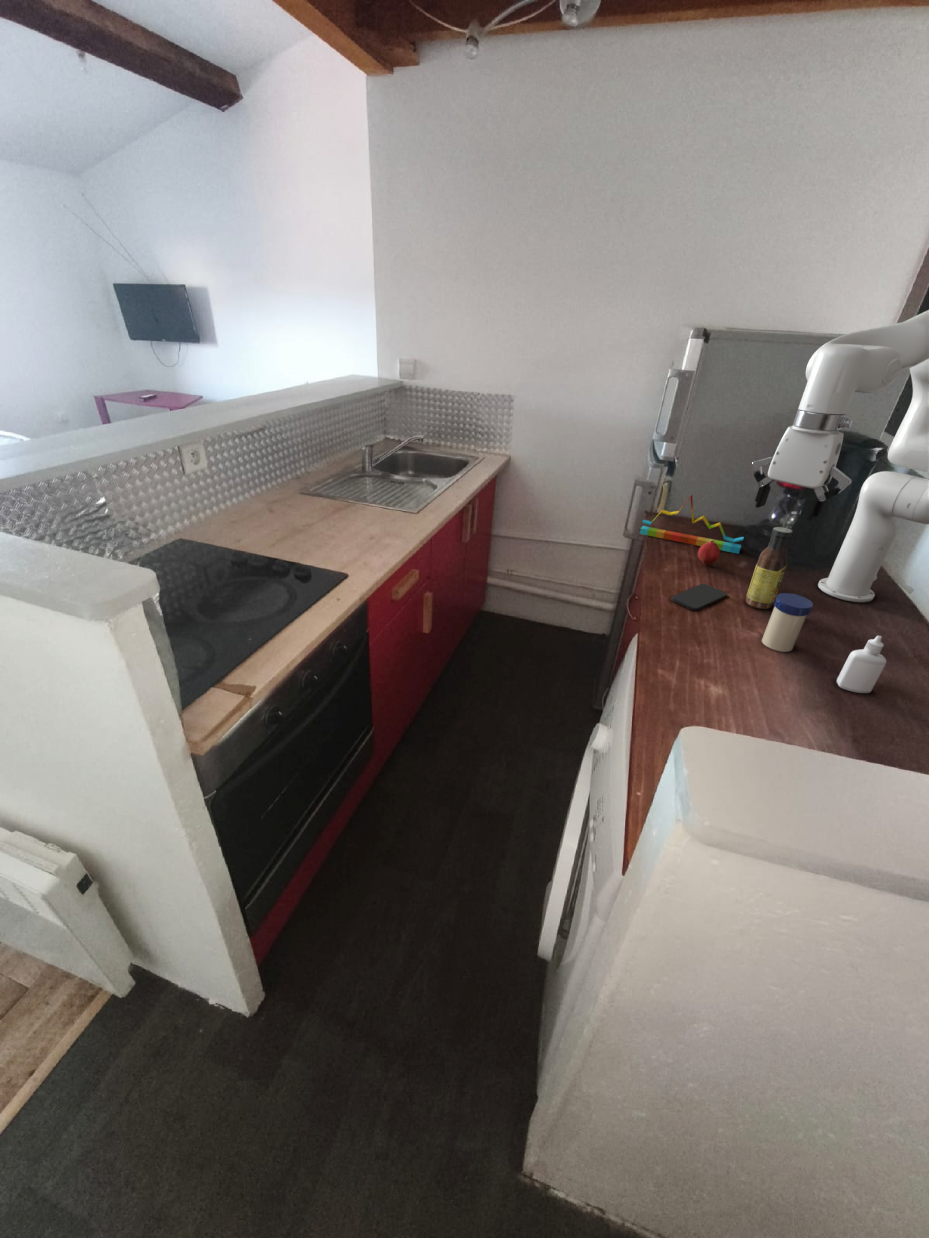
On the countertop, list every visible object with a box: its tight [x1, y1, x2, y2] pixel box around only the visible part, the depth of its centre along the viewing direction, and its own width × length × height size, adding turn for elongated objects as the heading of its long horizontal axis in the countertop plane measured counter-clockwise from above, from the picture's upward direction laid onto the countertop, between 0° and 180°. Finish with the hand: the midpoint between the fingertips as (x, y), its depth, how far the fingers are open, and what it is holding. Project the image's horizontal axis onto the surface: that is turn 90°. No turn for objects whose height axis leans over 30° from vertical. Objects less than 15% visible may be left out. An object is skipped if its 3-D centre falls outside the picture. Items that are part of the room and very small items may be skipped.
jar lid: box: [773, 592, 814, 616], centre depth 108 cm, size 7×7×2 cm
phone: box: [671, 583, 728, 611], centre depth 131 cm, size 7×1×15 cm
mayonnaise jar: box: [761, 606, 808, 653], centre depth 111 cm, size 6×6×11 cm
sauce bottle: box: [745, 526, 793, 610], centre depth 124 cm, size 6×6×20 cm
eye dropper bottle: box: [836, 635, 887, 694], centre depth 97 cm, size 4×6×12 cm
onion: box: [697, 539, 721, 566], centre depth 148 cm, size 6×6×8 cm
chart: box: [639, 494, 745, 555], centre depth 161 cm, size 30×3×15 cm, turn 60°
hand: (784, 512), depth 102 cm, fingers open, 9 cm apart
